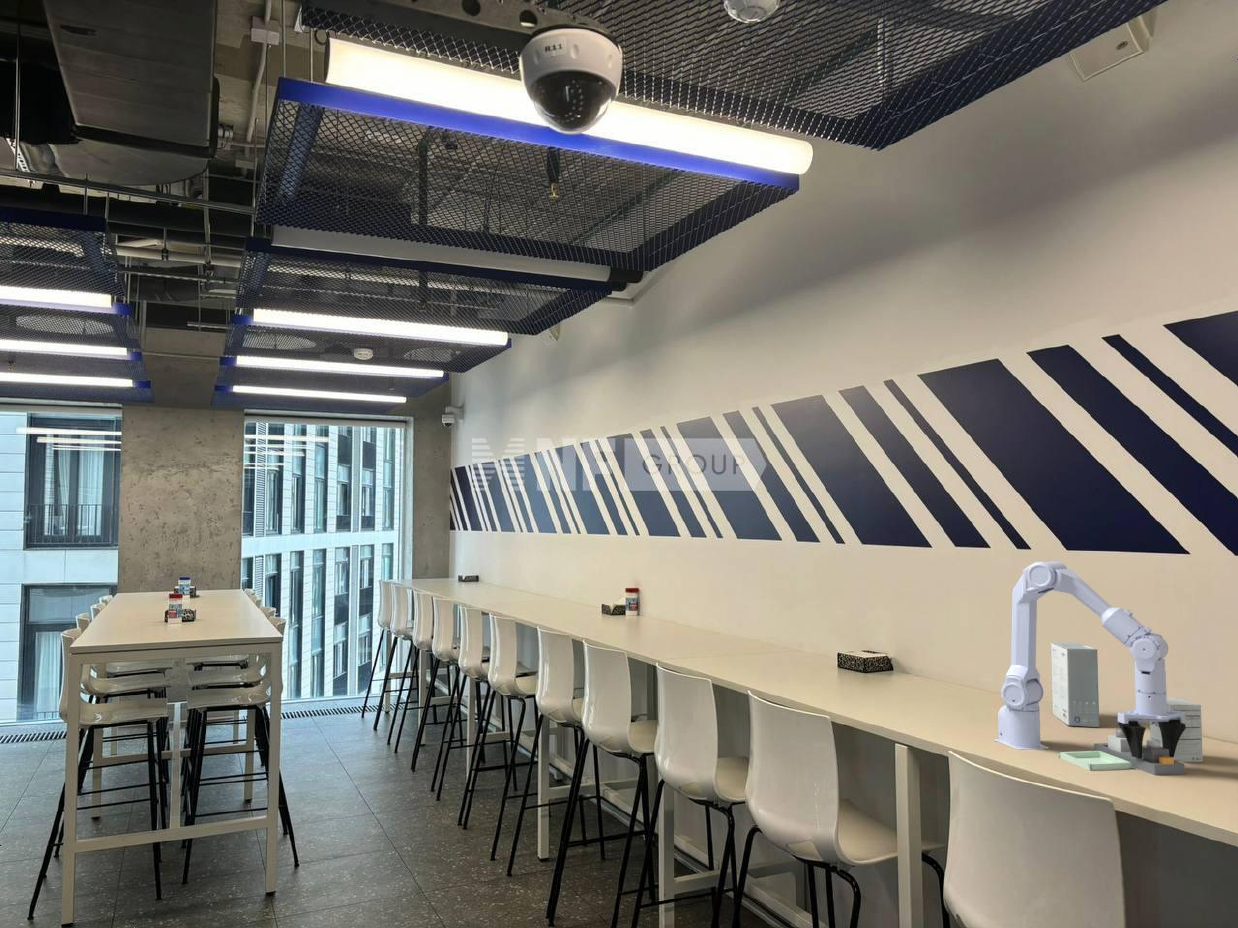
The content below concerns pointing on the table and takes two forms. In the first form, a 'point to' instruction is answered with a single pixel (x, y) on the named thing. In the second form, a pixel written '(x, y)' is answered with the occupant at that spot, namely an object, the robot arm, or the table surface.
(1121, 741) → the twin plug
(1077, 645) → the hard drive box
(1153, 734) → the supplement box
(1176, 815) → the table surface
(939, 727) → the table surface
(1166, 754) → the plug
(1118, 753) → the power strip
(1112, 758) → the tray
